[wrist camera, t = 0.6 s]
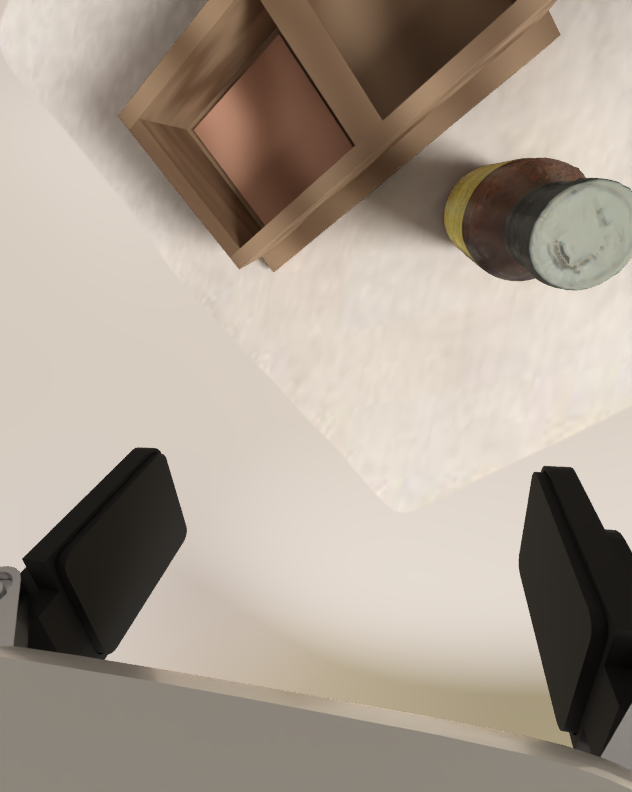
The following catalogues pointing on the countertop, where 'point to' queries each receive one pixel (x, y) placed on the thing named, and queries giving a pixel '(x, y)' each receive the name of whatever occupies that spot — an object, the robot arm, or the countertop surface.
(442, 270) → the countertop surface
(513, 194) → the sauce bottle
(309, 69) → the caddy
